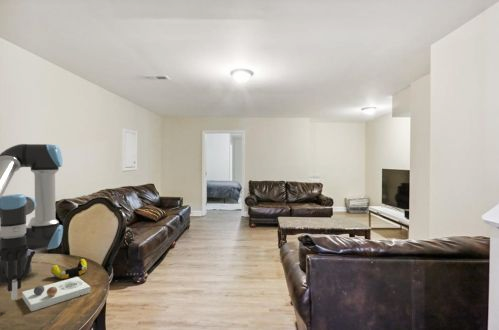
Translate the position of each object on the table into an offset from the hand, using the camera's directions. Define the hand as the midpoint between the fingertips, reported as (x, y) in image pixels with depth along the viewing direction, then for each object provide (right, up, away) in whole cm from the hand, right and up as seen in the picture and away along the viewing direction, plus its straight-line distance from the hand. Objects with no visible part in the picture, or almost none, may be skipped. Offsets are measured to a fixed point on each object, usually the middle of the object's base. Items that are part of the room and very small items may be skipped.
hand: (14, 298), depth 105 cm
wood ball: (+11, +1, +4) cm, 12 cm away
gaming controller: (+1, -4, +32) cm, 32 cm away
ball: (+5, +1, +6) cm, 8 cm away
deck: (+9, -4, +10) cm, 14 cm away
